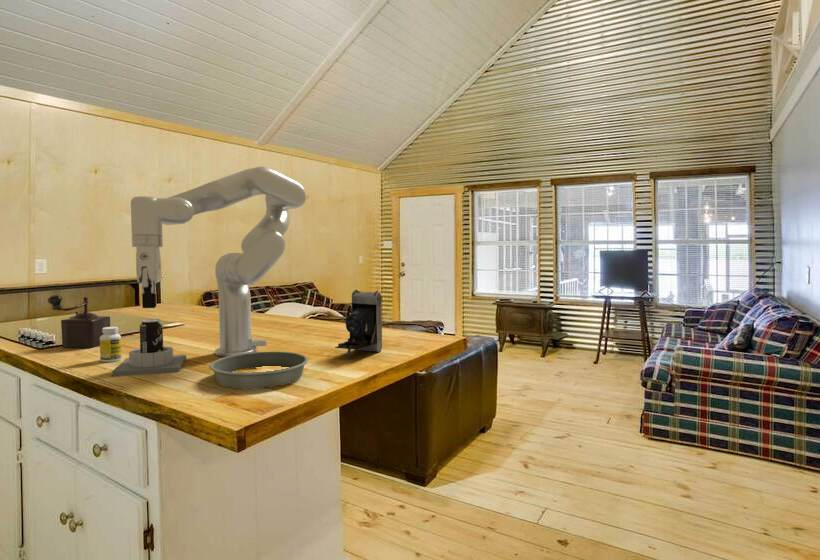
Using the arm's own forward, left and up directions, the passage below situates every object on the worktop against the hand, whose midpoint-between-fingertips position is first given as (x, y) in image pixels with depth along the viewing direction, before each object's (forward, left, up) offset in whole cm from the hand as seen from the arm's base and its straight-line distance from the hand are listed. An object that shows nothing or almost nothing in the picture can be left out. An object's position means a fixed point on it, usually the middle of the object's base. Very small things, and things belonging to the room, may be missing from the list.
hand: (149, 307), depth 139 cm
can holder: (0, 0, -17) cm, 17 cm away
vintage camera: (-59, +2, -17) cm, 61 cm away
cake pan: (-29, +20, -17) cm, 39 cm away
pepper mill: (+28, -37, -17) cm, 49 cm away
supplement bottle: (+13, -12, -17) cm, 24 cm away
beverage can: (0, -1, -16) cm, 16 cm away
